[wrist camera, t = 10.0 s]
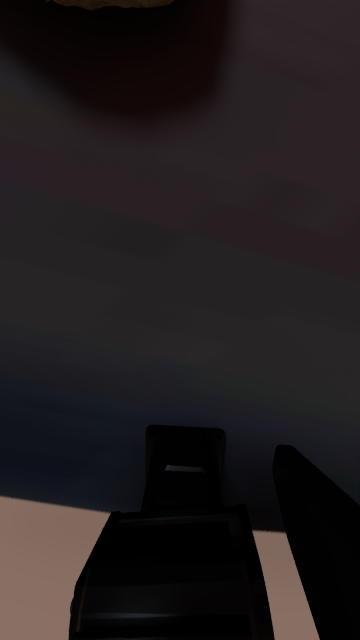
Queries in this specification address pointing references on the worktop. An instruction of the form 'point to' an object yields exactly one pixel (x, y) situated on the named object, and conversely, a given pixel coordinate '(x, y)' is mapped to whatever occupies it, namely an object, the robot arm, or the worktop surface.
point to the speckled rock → (113, 3)
